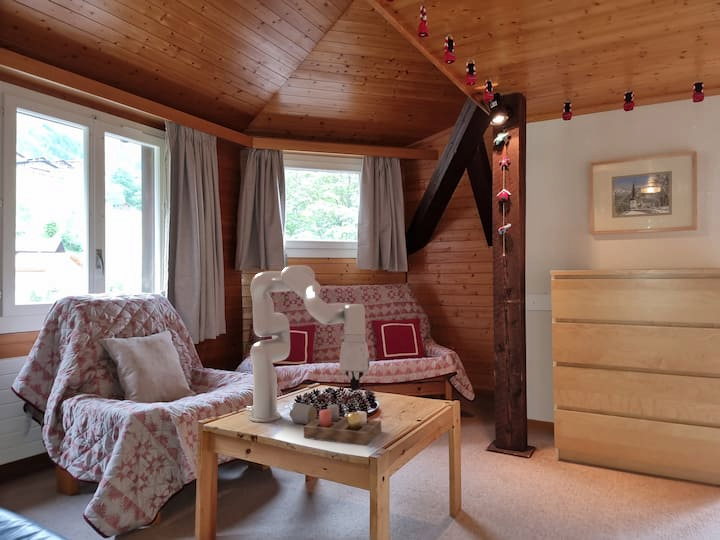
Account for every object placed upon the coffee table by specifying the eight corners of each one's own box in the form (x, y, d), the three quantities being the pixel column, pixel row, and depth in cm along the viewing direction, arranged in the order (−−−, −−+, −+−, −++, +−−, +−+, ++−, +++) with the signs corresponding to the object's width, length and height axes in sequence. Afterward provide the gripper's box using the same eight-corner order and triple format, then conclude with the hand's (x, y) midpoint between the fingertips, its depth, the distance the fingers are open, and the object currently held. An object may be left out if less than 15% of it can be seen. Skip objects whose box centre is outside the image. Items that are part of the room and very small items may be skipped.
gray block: (325, 421, 192) (325, 407, 192) (330, 417, 196) (330, 404, 196) (336, 422, 190) (336, 408, 190) (340, 419, 194) (340, 405, 194)
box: (303, 437, 184) (303, 426, 184) (322, 425, 199) (322, 414, 199) (366, 445, 176) (366, 433, 176) (381, 431, 191) (381, 420, 191)
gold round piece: (345, 429, 181) (345, 414, 181) (350, 426, 185) (350, 411, 185) (357, 430, 180) (357, 416, 180) (361, 427, 184) (361, 412, 184)
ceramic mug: (309, 427, 197) (309, 407, 197) (290, 424, 200) (290, 404, 200) (321, 420, 207) (321, 401, 207) (303, 418, 210) (304, 399, 210)
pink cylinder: (317, 426, 185) (317, 412, 185) (322, 423, 189) (322, 408, 189) (328, 427, 184) (328, 413, 184) (333, 424, 188) (333, 410, 188)
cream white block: (352, 428, 188) (352, 413, 188) (357, 424, 192) (357, 410, 192) (364, 429, 186) (364, 414, 186) (368, 425, 190) (368, 411, 190)
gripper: (331, 339, 183) (331, 390, 183) (371, 340, 178) (371, 393, 178) (339, 336, 190) (339, 386, 190) (377, 338, 185) (378, 389, 185)
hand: (355, 389), depth 184 cm, fingers closed
